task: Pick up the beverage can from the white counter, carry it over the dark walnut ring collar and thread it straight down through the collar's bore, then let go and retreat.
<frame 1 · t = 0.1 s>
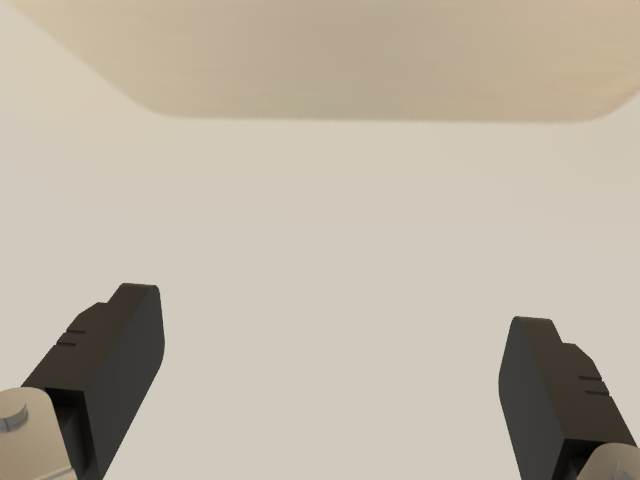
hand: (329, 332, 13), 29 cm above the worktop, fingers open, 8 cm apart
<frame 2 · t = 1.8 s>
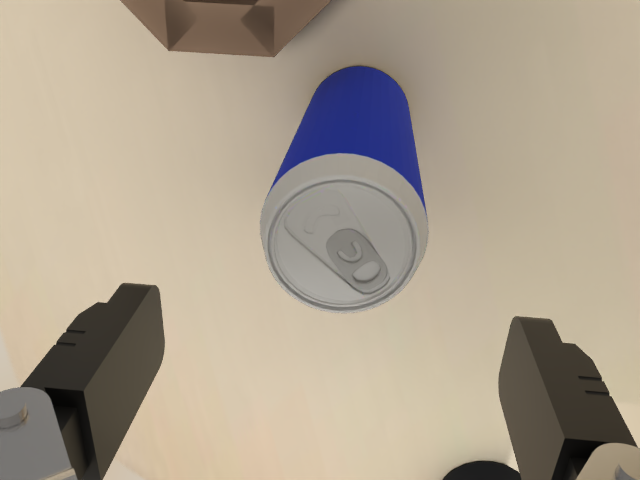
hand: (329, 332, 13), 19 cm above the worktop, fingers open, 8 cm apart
beverage can: (359, 113, 30), on the worktop
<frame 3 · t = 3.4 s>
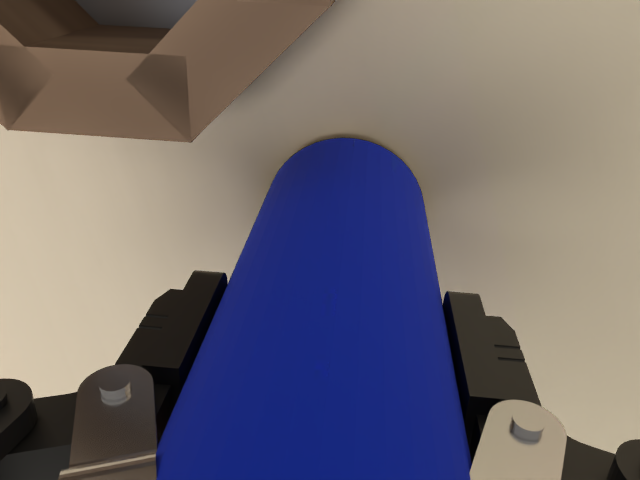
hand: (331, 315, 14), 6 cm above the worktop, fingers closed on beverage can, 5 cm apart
beverage can: (345, 203, 20), on the worktop, touching gripper
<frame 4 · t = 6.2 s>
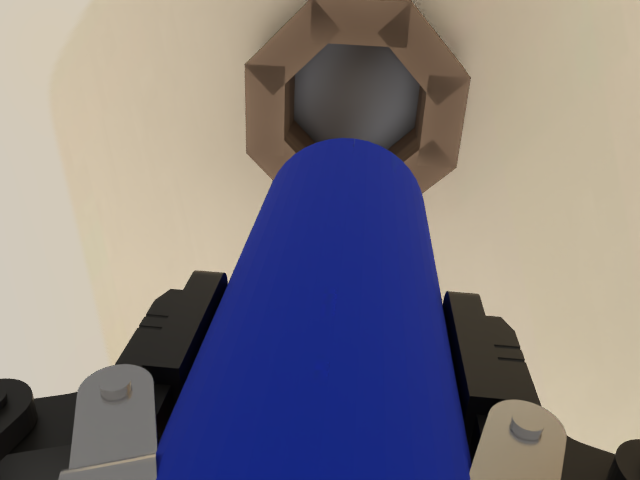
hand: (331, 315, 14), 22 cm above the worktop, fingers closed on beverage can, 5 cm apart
collar: (356, 95, 33), on the worktop
beverage can: (346, 203, 20), point 15 cm above the worktop, touching gripper
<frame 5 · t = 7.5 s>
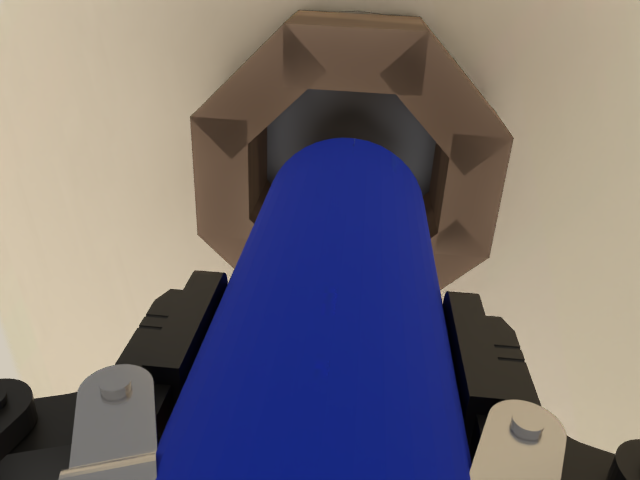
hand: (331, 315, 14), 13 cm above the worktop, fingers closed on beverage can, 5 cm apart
collar: (350, 147, 25), on the worktop
beverage can: (346, 203, 20), point 6 cm above the worktop, touching gripper
when the fingers open (8 cm above the worktop, at t = 8.8 s): beverage can drops 1 cm, resting on collar.
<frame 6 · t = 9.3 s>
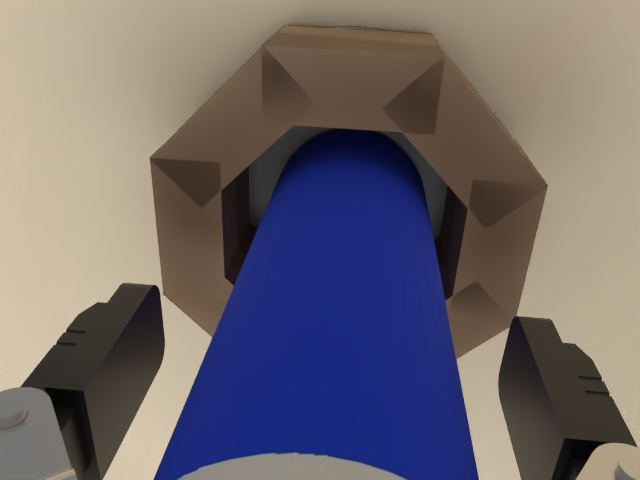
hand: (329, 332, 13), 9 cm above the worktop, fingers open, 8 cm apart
collar: (347, 184, 21), on the worktop
beverage can: (350, 193, 21), point 1 cm above the worktop, touching collar
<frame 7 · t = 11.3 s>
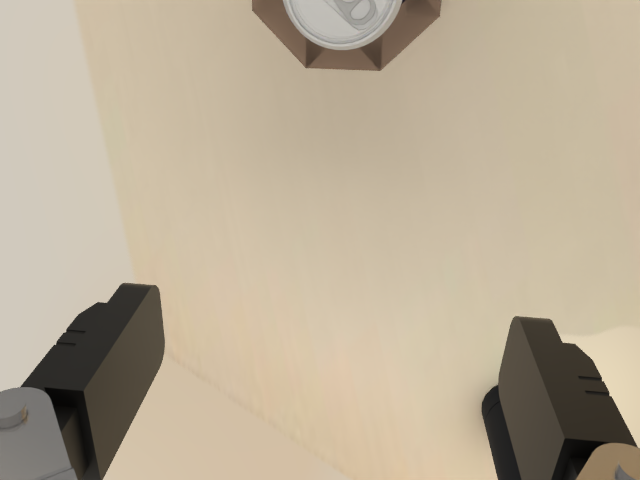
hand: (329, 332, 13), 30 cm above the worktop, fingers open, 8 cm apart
wine bottle: (516, 404, 53), on the worktop
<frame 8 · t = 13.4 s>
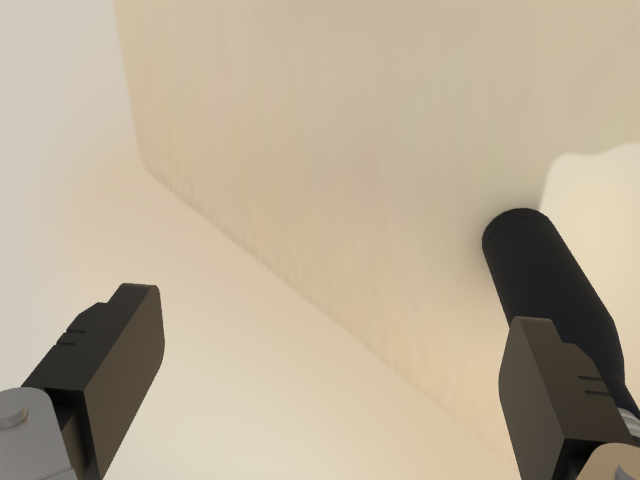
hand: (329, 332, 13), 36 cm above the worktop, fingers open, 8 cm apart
wine bottle: (517, 239, 51), on the worktop
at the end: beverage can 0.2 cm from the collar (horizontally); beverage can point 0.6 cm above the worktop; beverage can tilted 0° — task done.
